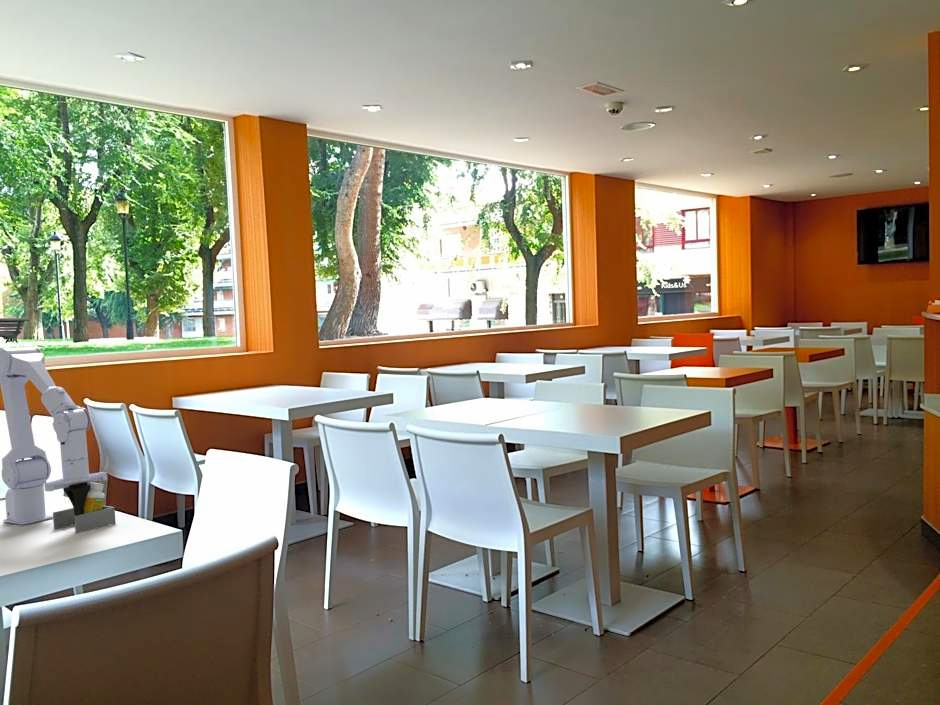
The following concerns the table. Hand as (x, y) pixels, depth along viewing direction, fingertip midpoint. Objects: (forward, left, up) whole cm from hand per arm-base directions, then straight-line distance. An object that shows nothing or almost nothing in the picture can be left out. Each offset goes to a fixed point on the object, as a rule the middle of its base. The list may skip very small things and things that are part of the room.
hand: (79, 515), depth 192 cm
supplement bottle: (-1, +2, -3) cm, 4 cm away
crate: (-1, +2, -3) cm, 4 cm away
